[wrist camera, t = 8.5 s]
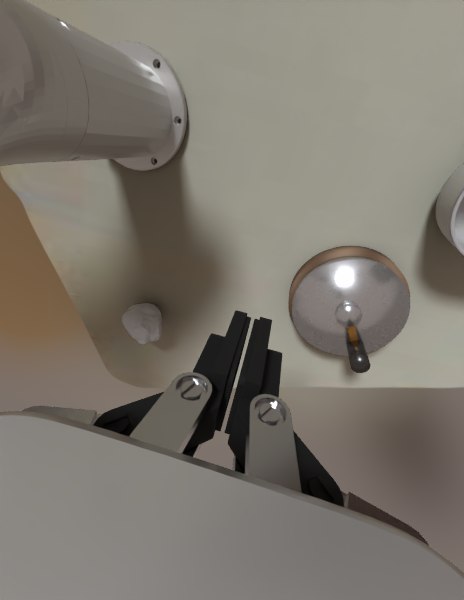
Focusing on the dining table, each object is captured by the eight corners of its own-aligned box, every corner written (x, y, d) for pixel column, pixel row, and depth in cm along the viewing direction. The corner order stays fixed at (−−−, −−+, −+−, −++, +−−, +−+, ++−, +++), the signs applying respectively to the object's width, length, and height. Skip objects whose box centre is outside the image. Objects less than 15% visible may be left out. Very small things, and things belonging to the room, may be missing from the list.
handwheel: (411, 340, 37) (427, 368, 33) (305, 355, 42) (306, 381, 37) (399, 241, 32) (416, 257, 27) (280, 271, 37) (276, 289, 32)
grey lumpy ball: (170, 332, 49) (151, 357, 43) (133, 317, 49) (110, 341, 43) (176, 304, 46) (157, 327, 40) (137, 289, 46) (112, 310, 40)
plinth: (277, 326, 44) (276, 334, 42) (307, 233, 36) (307, 238, 34) (375, 353, 42) (378, 362, 40) (427, 261, 35) (434, 267, 33)
